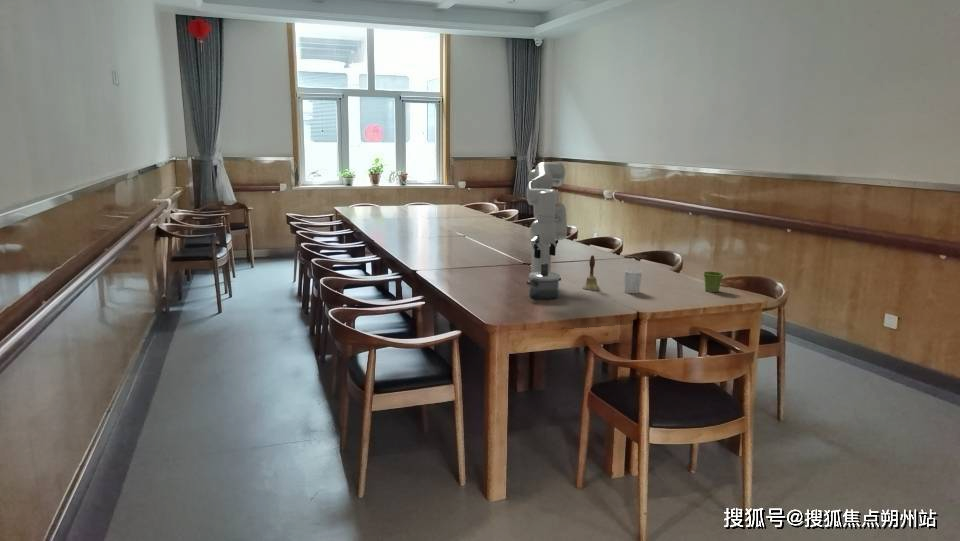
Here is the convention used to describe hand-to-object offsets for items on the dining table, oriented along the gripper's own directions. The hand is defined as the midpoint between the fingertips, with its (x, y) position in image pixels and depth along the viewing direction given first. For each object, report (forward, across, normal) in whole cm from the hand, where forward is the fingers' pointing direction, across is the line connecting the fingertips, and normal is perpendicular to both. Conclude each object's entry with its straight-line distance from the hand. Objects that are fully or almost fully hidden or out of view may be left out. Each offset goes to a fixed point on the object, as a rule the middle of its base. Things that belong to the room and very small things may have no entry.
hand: (544, 256), depth 290 cm
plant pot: (+19, -70, +44) cm, 85 cm away
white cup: (+19, -38, +21) cm, 47 cm away
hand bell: (+19, -29, +4) cm, 35 cm away
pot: (+18, +1, +1) cm, 18 cm away
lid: (+9, +1, +1) cm, 9 cm away
